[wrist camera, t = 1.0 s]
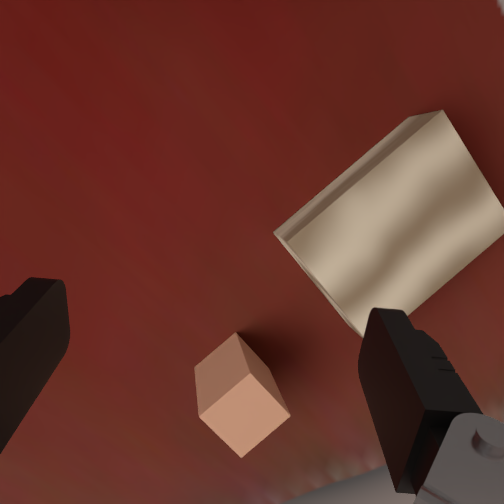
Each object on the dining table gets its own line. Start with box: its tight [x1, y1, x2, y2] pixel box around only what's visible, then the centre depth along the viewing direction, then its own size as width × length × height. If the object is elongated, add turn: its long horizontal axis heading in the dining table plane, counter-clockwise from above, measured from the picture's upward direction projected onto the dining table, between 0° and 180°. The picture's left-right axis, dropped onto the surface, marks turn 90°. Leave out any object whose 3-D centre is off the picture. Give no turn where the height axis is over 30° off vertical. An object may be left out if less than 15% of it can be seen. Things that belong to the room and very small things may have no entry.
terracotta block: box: [194, 332, 291, 458], centre depth 36 cm, size 5×5×8 cm
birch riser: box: [273, 110, 504, 338], centre depth 37 cm, size 12×16×5 cm
